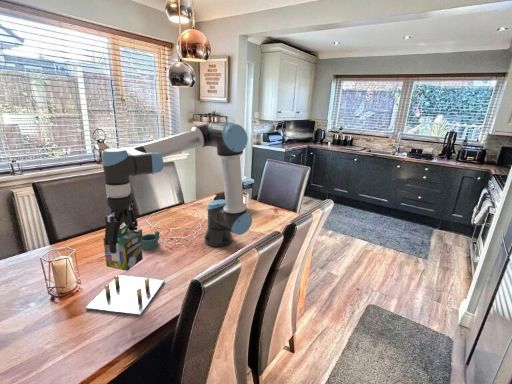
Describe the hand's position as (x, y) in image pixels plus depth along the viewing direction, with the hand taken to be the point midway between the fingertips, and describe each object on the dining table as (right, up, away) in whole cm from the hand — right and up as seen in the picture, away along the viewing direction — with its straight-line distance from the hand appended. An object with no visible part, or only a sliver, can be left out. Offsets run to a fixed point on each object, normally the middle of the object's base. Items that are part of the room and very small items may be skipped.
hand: (124, 252), depth 101 cm
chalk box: (0, -4, +1) cm, 4 cm away
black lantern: (+28, +10, +101) cm, 105 cm away
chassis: (-1, -17, +5) cm, 18 cm away
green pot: (-7, -6, +43) cm, 43 cm away
